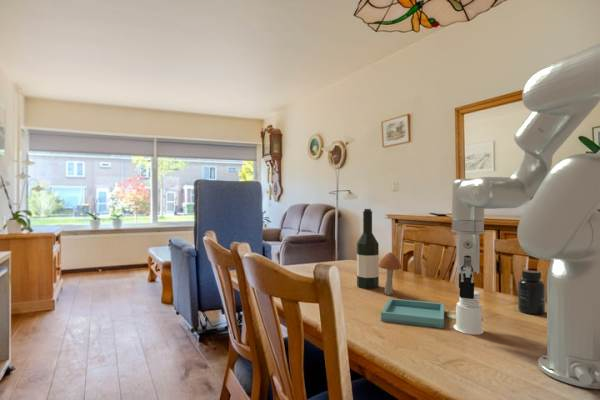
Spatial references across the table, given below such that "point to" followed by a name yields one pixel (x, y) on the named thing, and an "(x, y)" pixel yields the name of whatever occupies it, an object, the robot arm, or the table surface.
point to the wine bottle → (367, 255)
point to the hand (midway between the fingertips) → (465, 293)
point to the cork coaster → (451, 315)
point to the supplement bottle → (531, 293)
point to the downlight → (469, 315)
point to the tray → (414, 313)
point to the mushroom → (389, 270)
